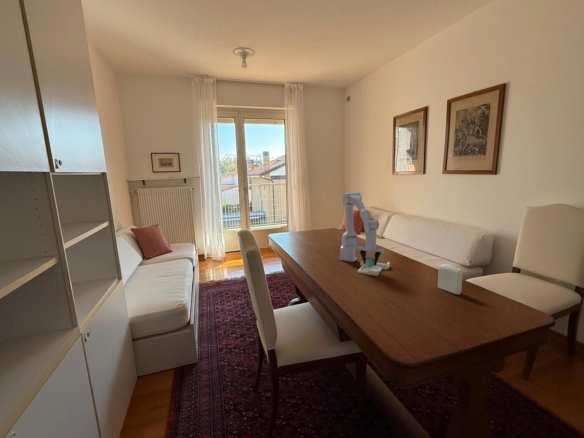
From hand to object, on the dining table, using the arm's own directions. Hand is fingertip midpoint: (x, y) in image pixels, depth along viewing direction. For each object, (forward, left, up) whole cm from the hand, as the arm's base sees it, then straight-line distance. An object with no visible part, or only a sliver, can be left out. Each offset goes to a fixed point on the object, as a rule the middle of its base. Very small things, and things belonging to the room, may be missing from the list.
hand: (370, 264), depth 150 cm
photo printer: (+39, -8, -4) cm, 40 cm away
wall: (0, +10, -4) cm, 11 cm away
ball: (0, 0, -2) cm, 2 cm away
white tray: (0, 0, -4) cm, 4 cm away
